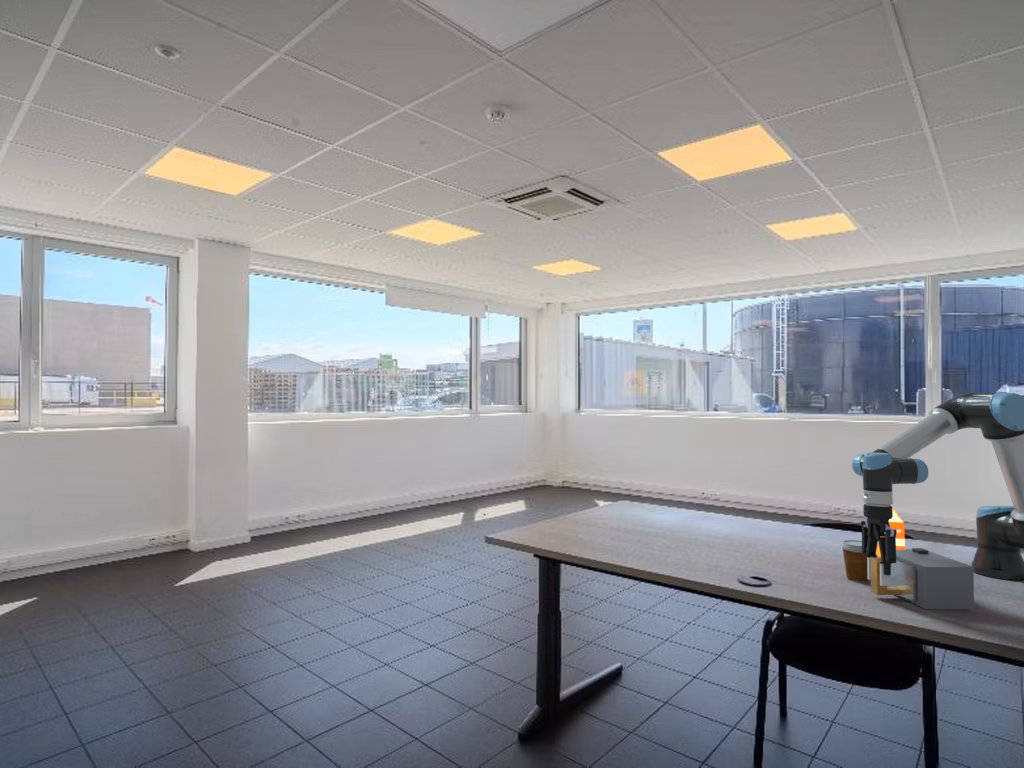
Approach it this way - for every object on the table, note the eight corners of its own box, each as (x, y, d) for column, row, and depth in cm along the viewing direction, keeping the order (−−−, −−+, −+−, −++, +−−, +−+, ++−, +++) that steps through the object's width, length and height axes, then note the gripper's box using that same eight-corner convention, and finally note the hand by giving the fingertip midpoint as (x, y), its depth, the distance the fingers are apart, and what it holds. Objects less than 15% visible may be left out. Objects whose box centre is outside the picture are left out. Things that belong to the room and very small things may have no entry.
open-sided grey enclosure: (924, 587, 192) (923, 546, 193) (974, 609, 172) (973, 563, 173) (880, 587, 192) (880, 546, 192) (925, 609, 172) (924, 563, 172)
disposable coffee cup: (837, 579, 201) (836, 542, 201) (846, 573, 208) (846, 538, 208) (869, 585, 194) (869, 547, 194) (878, 579, 201) (877, 543, 201)
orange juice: (896, 556, 230) (895, 503, 230) (905, 562, 221) (904, 507, 222) (873, 555, 232) (872, 502, 232) (881, 561, 223) (880, 506, 224)
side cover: (887, 588, 188) (886, 552, 189) (916, 602, 175) (915, 563, 176) (861, 588, 188) (860, 552, 189) (888, 602, 175) (887, 563, 176)
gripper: (847, 499, 192) (848, 573, 191) (885, 510, 173) (886, 592, 173) (871, 499, 192) (872, 573, 191) (910, 509, 173) (912, 591, 173)
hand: (878, 582), depth 182 cm, fingers open, 5 cm apart
